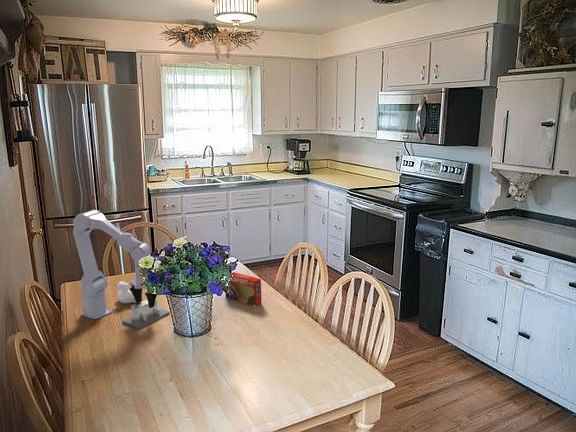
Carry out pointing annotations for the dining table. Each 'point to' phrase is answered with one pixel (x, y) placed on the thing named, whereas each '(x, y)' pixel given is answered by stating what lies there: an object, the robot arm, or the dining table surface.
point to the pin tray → (146, 319)
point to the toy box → (245, 289)
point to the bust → (125, 293)
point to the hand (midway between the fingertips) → (145, 305)
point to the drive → (143, 310)
